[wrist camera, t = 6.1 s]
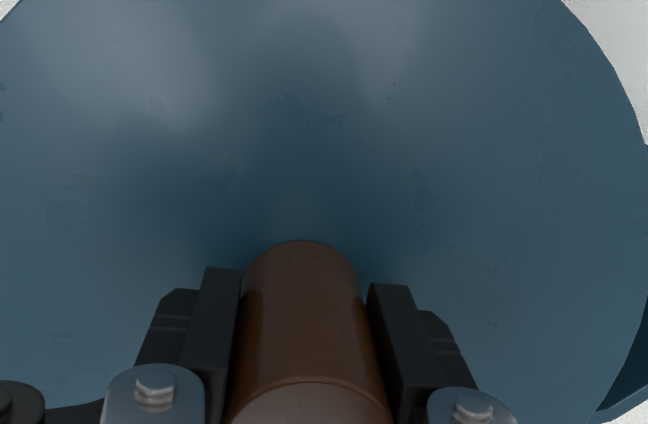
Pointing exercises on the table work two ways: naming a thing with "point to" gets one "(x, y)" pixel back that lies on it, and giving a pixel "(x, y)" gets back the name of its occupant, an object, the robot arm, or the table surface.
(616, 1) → the table surface
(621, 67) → the table surface
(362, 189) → the lid
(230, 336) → the robot arm
